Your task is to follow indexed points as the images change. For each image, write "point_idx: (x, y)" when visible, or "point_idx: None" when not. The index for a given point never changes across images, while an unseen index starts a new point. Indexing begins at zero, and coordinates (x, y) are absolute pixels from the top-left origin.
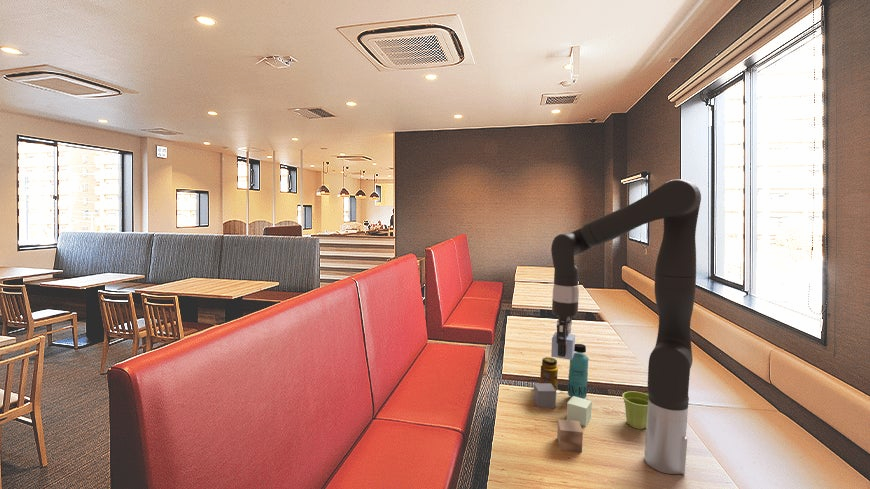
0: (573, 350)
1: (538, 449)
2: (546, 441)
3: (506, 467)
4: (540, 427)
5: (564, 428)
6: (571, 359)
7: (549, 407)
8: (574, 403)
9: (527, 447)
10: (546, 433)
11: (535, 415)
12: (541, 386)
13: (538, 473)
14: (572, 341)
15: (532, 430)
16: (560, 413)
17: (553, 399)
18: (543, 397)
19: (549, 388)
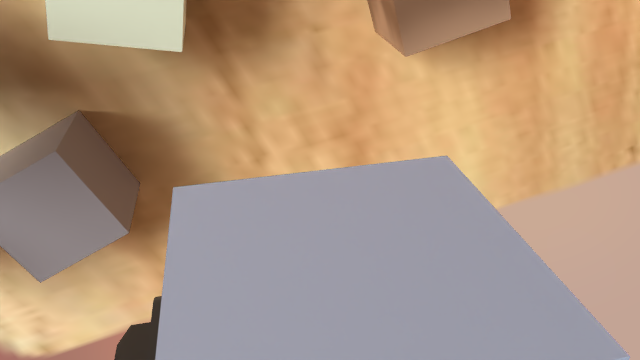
0: (315, 217)
1: (489, 80)
2: (420, 67)
3: (622, 142)
4: (319, 120)
5: (490, 3)
6: (449, 163)
7: (100, 137)
8: (161, 8)
9: (489, 120)
10: (357, 83)
11: (223, 169)
12: (52, 238)
13: (634, 38)
14: (615, 342)
15: (359, 141)
16: (125, 71)
17: (78, 139)
18: (114, 190)
19: (45, 194)
